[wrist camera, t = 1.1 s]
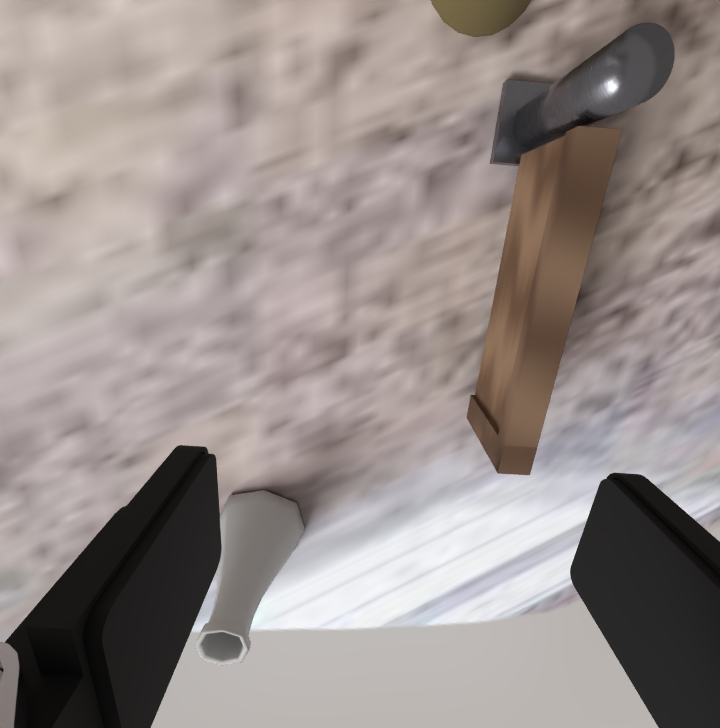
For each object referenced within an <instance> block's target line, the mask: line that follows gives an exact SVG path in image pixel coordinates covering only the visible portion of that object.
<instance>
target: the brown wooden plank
mask: <svg viewBox="0 0 720 728" xmlns="http://www.w3.org/2000/svg"><path fill="white" fill-rule="evenodd" d="M621 133H622V129H612V128H600V127H588V126H577V127H575V128H573V129H571V130H569V131H566V135H565V136H563V137H561V138H559V139H556V140H554V141H552V142H550V143H547V144H545V145H543V146H541V147H538V148H536V149H534V150H531V151H529V152H527V153H525V154H522V155H521V159H520V165H519V170H518V175H517V180H516V185H515V191H514V196H513V201H512V206H511V212H510V217H509V222H508V227H507V232H506V238H505V243H504V248H503V253H502V258H501V264H500V269H499V274H498V279H497V284H496V290H495V295H494V300H493V305H492V310H491V316H490V321H489V326H488V331H487V336H486V342H485V347H484V352H483V357H482V362H481V368H480V373H479V378H478V383H477V388H476V394H475V395H471V398H470V403H469V408H468V413H467V419H468V421H469V423H470V424H471V426H472V428H473V430H474V432H475V433H476V435H477V437H478V439H479V440H480V442H481V444H482V446H483V448H484V449H485V451H486V453H487V455H488V457H489V458H490V460H491V462H492V464H493V465H494V467H495V469H496V471H497V473H501V474H519V475H530V472H531V469H532V465H533V461H534V457H535V454H536V450H537V446H538V443H539V439H540V435H541V431H542V428H543V424H544V420H545V416H546V413H547V409H548V405H549V402H550V398H551V394H552V390H553V387H554V383H555V379H556V375H557V372H558V368H559V364H560V360H561V357H562V353H563V349H564V346H565V342H566V338H567V334H568V331H569V327H570V323H571V319H572V316H573V312H574V308H575V304H576V301H577V297H578V293H579V290H580V286H581V282H582V278H583V275H584V271H585V267H586V263H587V260H588V256H589V252H590V248H591V245H592V241H593V237H594V234H595V230H596V226H597V222H598V219H599V215H600V211H601V207H602V204H603V200H604V196H605V193H606V189H607V185H608V181H609V178H610V174H611V170H612V166H613V163H614V159H615V155H616V151H617V148H618V144H619V140H620V137H621Z"/></svg>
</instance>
